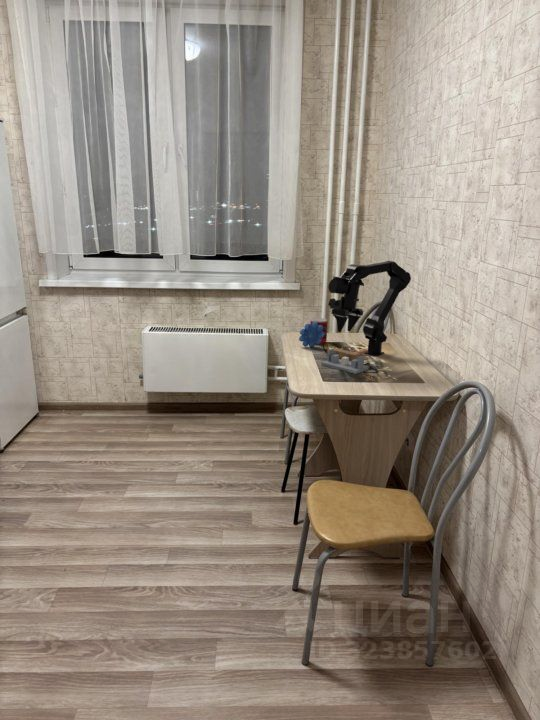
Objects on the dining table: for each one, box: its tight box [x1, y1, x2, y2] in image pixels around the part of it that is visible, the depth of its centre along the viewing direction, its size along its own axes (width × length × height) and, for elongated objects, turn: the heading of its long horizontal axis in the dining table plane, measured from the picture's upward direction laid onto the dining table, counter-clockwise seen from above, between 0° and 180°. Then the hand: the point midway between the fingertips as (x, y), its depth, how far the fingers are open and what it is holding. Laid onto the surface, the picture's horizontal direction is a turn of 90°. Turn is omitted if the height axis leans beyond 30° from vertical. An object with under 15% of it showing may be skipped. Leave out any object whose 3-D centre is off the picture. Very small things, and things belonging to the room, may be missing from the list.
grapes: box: [298, 322, 325, 348], centre depth 246 cm, size 12×7×12 cm, turn 83°
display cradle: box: [321, 348, 370, 375], centre depth 217 cm, size 9×17×6 cm, turn 48°
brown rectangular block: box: [331, 347, 361, 361], centre depth 231 cm, size 13×4×3 cm, turn 48°
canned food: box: [309, 317, 328, 345], centre depth 254 cm, size 8×8×11 cm
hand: (344, 331), depth 226 cm, fingers open, 9 cm apart
